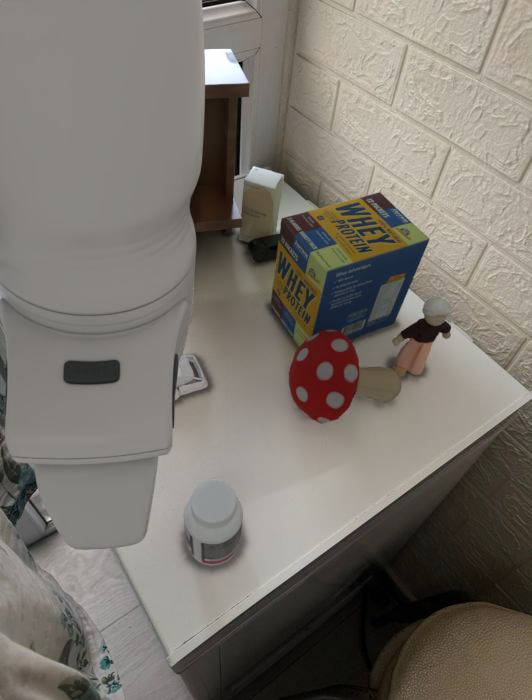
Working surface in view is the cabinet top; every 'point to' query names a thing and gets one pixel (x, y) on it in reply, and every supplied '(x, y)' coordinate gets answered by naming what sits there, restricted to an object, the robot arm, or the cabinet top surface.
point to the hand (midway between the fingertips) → (121, 424)
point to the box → (260, 203)
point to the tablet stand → (263, 248)
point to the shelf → (219, 144)
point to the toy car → (189, 376)
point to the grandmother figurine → (422, 337)
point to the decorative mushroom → (335, 377)
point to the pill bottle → (213, 522)
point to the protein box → (345, 267)
